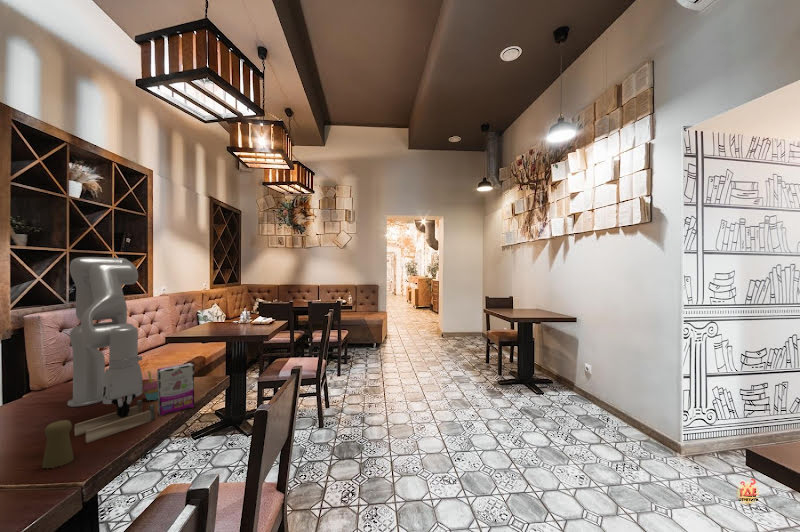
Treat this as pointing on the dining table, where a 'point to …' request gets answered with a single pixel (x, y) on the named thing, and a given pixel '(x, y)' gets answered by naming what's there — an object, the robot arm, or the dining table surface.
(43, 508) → the dining table surface
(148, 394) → the cupcake
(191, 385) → the candy bar box
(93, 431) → the chute
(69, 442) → the cork
